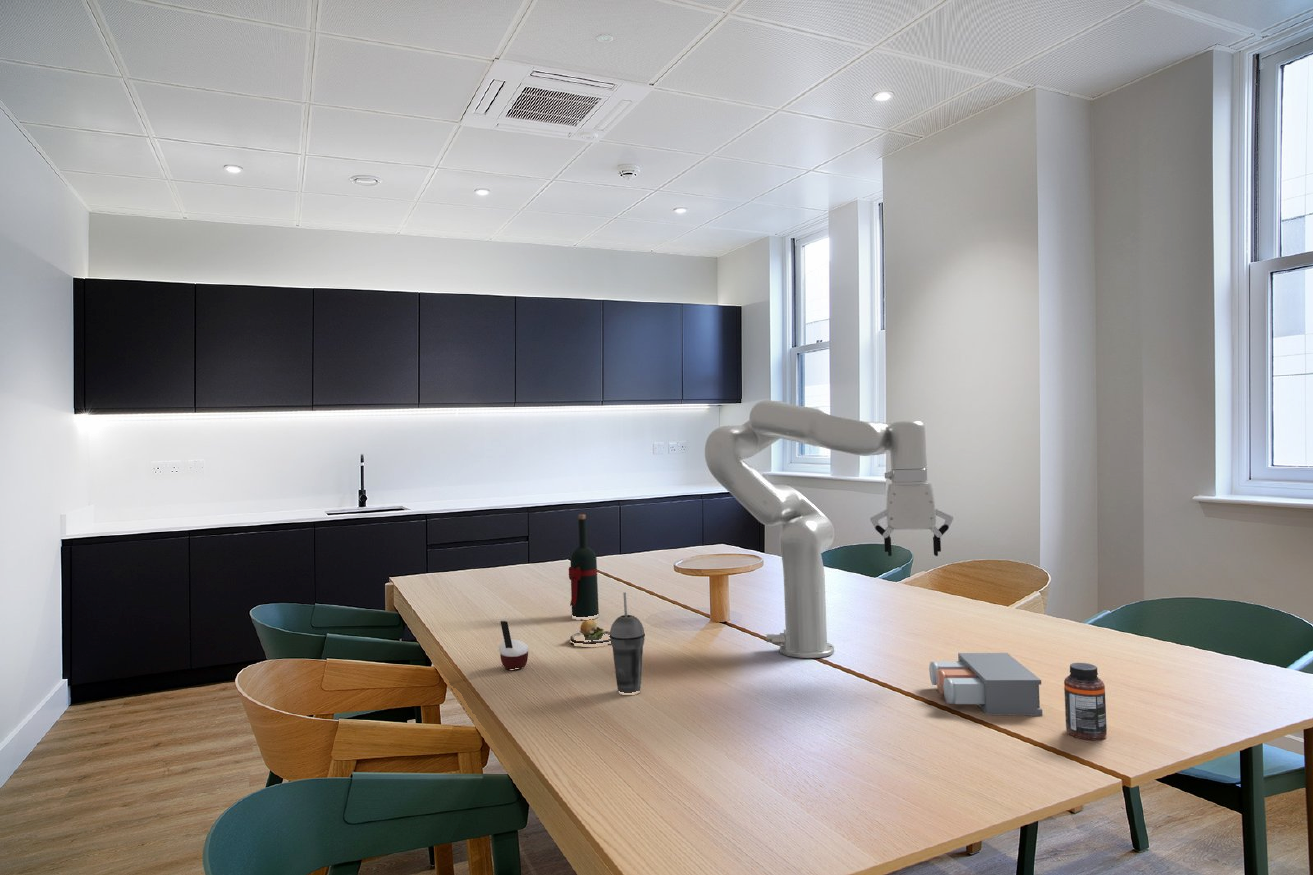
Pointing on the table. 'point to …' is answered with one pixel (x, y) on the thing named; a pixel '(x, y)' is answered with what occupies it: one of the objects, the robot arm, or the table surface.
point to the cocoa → (512, 650)
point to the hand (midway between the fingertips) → (912, 555)
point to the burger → (590, 633)
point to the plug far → (944, 668)
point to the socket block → (1004, 684)
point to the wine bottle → (583, 576)
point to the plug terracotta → (951, 676)
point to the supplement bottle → (1085, 702)
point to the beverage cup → (627, 651)
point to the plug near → (964, 691)
